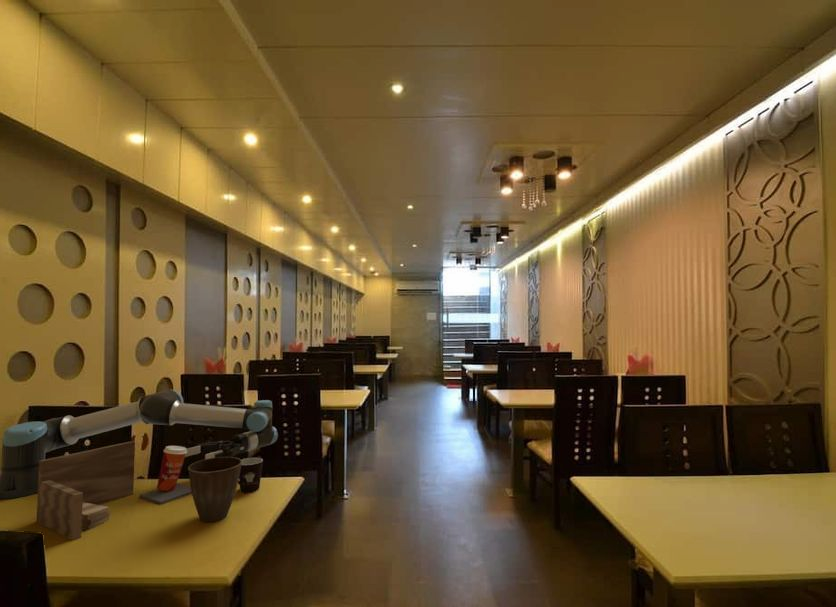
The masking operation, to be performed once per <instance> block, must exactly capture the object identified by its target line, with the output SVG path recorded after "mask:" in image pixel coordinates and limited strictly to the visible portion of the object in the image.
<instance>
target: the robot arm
mask: <svg viewBox="0 0 836 607" xmlns="http://www.w3.org/2000/svg"><path fill="white" fill-rule="evenodd" d="M138 423H143V424H145V425H149V424H151V425H159V426H160V425H164V426H173V425H175V424H183V425H184V424H186V425H196V426H197V425H198V426H210V427H211V426H212V427H222V428H233V429H235V428H236V429H245V430H249V431H246V432H243V433H239V434H238V433H237V434H235V435H233V436H232V437H231V439H230V440H225V441H224V440H223V439H221V440H218V441H212V442H210V441H209V442H205V443H197V444H196V445H195V446H193V447H188V448H186V449H187V453H186V455H185V458H187V457H190V456H193V455H200V454H201V453H203V452H210V453H206V454H205V455H204V460H205V459H210V458H217V457H234V456H236V455H240V454H243V453H245V452H251V451H252V450H256V449H259V448H263V447H267V446H270V445H273V444H274V443H275V442H277V440H278V437H279V434H278V433H279V432H278V430H277V428H276V427H275V426H273V401H272V400H269V399H265V400H264V399H262V400H256V401H254V403H253V409H249V408H248V409H247V408H239V407H238V408H237V407H229V406H226V407H225V406H217V405H216V406H215V405H208V404H207V405H205V404H204V405H203V404H194V403H185V402H184V398H183V396H182V394H181V393H180V392H178V391H177V390H174V389H164V390H162V391H158V392H155V393H151V394H147V395H143V396H141V397H140V398H139V399H138V401H134V402H129V403H127V404H123V405H120V406H119V405H118V406H114V407H111V408H106V409H103V410H99V411H95V412H92V413H88V414H83V415H80V416H76V417H74V416H73V415H71V414H70V415H69V414H68V415H65V416H61V417H53V418H50V419H47V420H44V421H39V420H38V421H28V422H22V423H18V424H15V425H12V426H10V427H8V428H7V429H5V430H4V431H3V434H2V439H1V444H2V445H1V463H0V466H1V467H0V500H6V499H7V500H8V499H14V498H21V497H22V498H23V497H26V496H30V495H33V494H38V480H39V461H40V460H45V459H46V453H49V452H51V451H54V450H56V449H57V450H58V449H60V448H64V447H68V446H71V445H74V444H77V442H78V441H79V439H84V438H87V437H90V436H95V435H98V434H102V433H105V432H110V431H113V430H116V429H120V428H124V427H128V426H132V425H135V424H138Z"/></svg>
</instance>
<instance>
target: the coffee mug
mask: <svg viewBox="0 0 836 607" xmlns="http://www.w3.org/2000/svg"><path fill="white" fill-rule="evenodd" d="M241 461H242V463H241V469H240V475H239V480H238V484H237V485H239V490H240V491H241V492H240V493H242V492H251V493H254V492H253V491H255V492H257V491H259V490H260V485H261V478H262V470H263V462H264V459H263V458H261V457H248V458H243V459H241ZM258 489H259V490H258ZM256 490H257V491H256Z"/></svg>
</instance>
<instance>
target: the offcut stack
mask: <svg viewBox="0 0 836 607" xmlns="http://www.w3.org/2000/svg"><path fill="white" fill-rule="evenodd" d="M110 517H111V510H110V507H109V506H106V505H102V504H99V505H96V504H90V503H85V502H83V506H82V528H81V530H86V531H89V530H92V529H94V528H96V527H98V526H100V524H101V525H103V524H104V522H105V523H107V522H106V521H108V520H109V521H110ZM109 521H108V522H109ZM102 523H103V524H102Z"/></svg>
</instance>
